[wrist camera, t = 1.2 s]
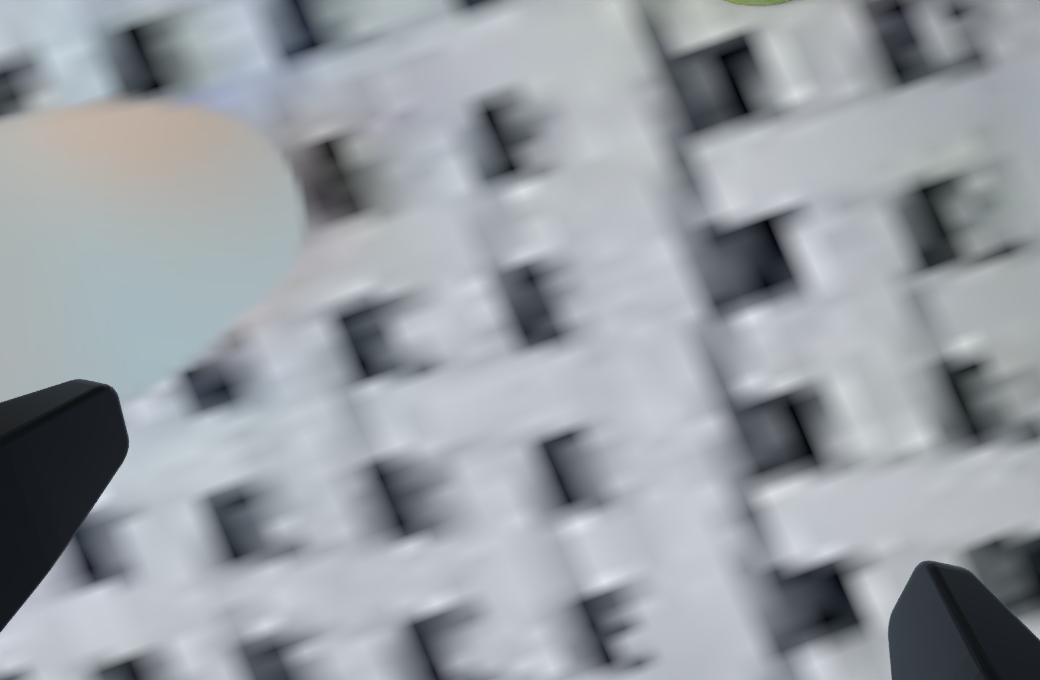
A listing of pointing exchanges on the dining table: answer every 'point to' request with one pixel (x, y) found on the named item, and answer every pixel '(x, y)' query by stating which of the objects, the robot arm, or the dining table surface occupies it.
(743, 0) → the plant pot
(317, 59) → the dining table surface
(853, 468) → the dining table surface
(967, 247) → the dining table surface
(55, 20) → the dining table surface
